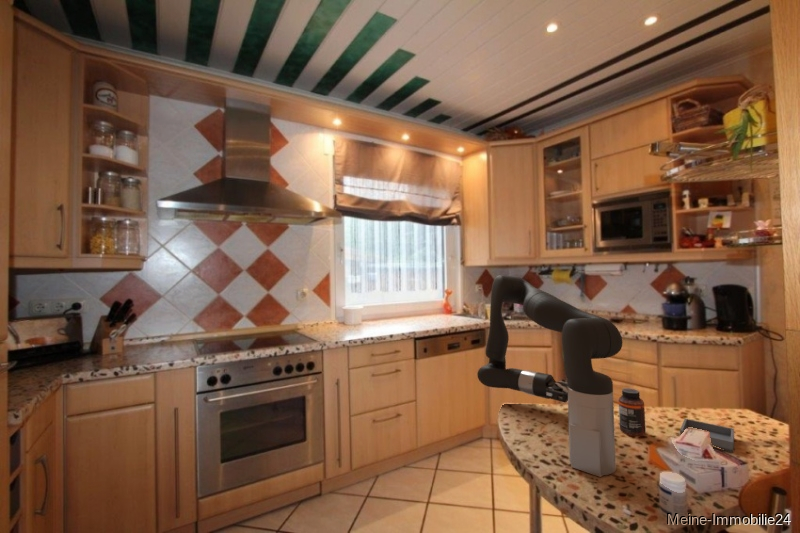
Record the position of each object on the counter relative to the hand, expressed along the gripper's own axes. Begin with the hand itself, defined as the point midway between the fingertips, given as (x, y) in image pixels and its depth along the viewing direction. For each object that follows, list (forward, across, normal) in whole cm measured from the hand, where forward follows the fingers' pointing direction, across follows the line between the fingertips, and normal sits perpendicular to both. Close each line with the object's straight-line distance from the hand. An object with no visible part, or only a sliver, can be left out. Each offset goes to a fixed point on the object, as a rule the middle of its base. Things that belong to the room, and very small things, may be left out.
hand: (590, 395), depth 104 cm
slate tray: (+25, +8, +7) cm, 28 cm away
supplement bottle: (+10, 0, +8) cm, 13 cm away
